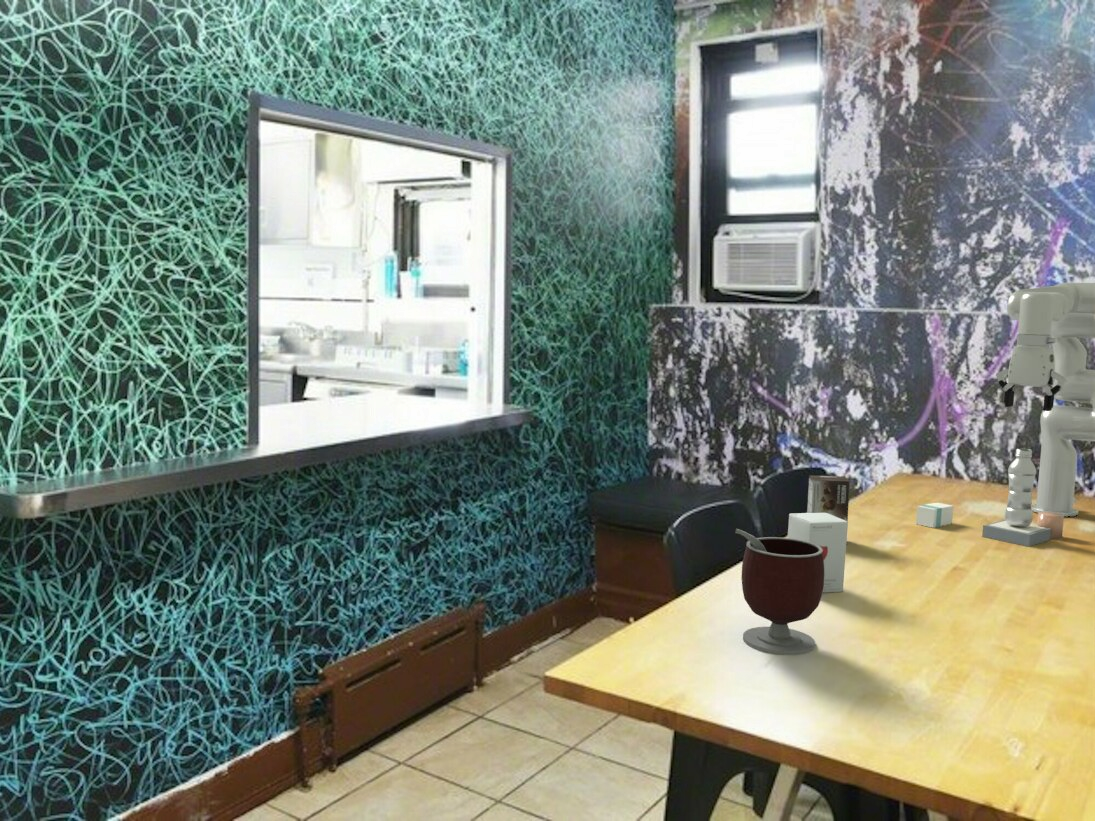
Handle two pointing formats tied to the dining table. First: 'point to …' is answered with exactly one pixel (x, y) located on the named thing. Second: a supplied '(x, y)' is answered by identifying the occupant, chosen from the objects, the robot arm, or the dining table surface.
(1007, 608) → the dining table surface
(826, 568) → the supplement box
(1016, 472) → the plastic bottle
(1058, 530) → the pink smooth rounded part
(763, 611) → the mate gourd
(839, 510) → the coffee box
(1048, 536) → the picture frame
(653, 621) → the dining table surface
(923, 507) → the lying carton
